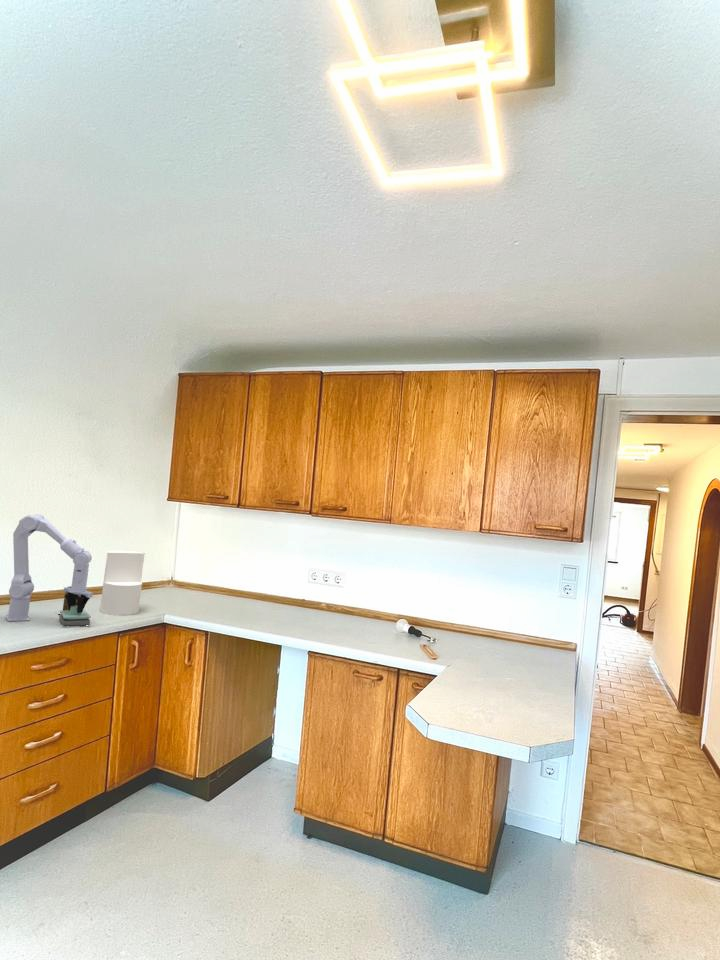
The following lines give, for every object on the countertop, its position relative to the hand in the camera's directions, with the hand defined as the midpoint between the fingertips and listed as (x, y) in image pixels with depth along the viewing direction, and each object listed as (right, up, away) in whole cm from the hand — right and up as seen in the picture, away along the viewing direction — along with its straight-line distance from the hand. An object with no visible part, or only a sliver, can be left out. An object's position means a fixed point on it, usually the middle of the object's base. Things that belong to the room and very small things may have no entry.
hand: (75, 611), depth 239 cm
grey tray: (-1, -5, 0) cm, 5 cm away
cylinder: (+6, -7, +30) cm, 32 cm away
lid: (0, -2, 0) cm, 2 cm away
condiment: (-11, -5, +14) cm, 19 cm away
